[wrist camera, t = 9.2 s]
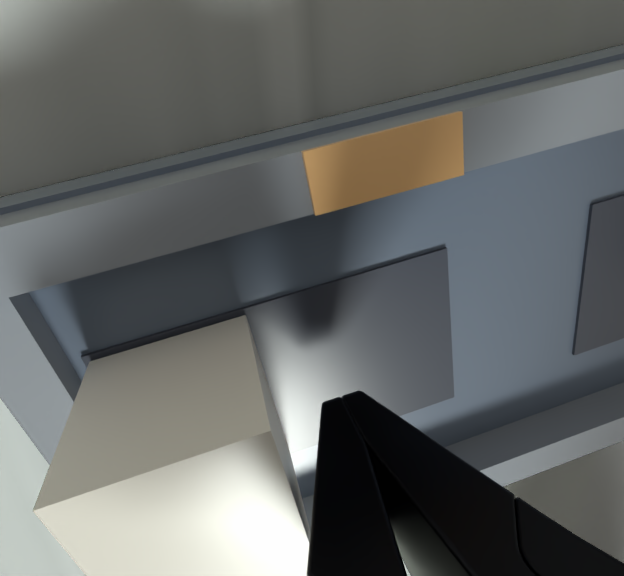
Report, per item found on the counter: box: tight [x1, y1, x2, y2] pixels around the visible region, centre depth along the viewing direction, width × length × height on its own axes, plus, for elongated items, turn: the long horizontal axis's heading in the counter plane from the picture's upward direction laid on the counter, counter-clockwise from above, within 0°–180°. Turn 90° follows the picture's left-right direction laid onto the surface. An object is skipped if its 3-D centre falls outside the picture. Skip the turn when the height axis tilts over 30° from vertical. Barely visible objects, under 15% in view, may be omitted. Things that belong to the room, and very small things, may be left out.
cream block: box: [33, 315, 310, 576], centre depth 8 cm, size 4×3×3 cm
